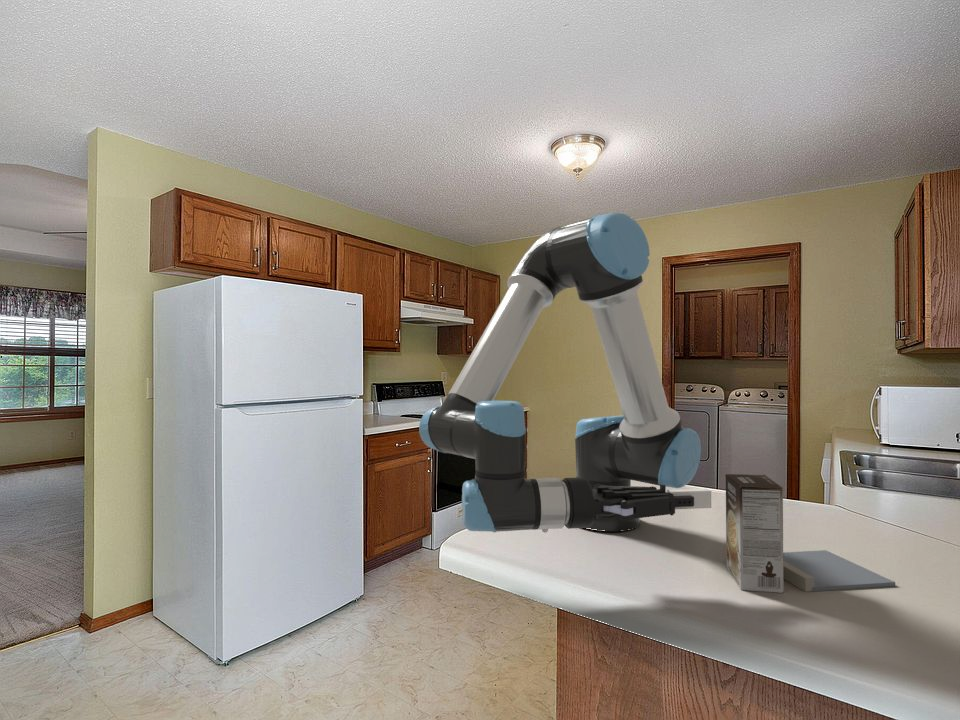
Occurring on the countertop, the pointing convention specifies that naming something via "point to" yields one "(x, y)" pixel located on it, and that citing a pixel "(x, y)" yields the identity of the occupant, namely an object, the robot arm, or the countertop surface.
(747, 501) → the coffee box
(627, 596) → the countertop surface
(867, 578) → the mat
